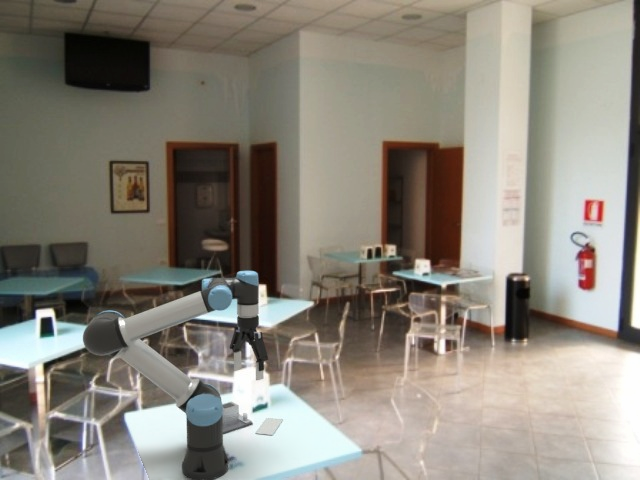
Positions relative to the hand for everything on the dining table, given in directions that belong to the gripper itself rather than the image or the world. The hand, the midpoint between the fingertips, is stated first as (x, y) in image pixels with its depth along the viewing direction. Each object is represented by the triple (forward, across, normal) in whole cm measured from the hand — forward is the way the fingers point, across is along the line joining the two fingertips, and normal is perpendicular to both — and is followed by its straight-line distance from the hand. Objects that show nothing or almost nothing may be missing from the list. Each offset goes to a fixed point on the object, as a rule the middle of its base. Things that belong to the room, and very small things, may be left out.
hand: (248, 374), depth 206 cm
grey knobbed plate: (+27, +21, -4) cm, 34 cm away
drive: (+26, +21, -4) cm, 34 cm away
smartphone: (+27, +9, -16) cm, 33 cm away
